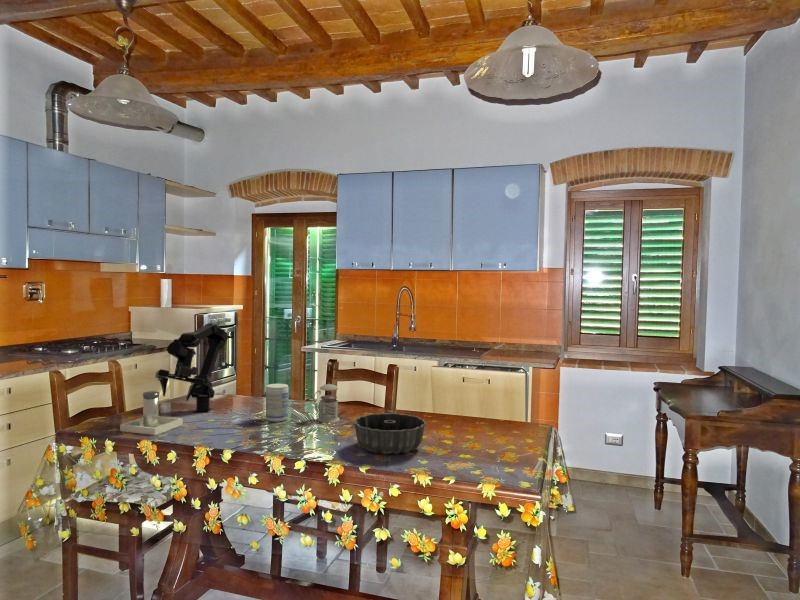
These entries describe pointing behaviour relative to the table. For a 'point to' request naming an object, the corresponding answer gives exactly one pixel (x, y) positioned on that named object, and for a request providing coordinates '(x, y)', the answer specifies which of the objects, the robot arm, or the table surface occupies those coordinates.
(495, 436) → the table surface
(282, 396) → the supplement tub
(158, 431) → the tray
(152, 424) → the shaker
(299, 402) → the table surface
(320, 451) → the table surface
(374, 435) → the bundt pan
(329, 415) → the french press
